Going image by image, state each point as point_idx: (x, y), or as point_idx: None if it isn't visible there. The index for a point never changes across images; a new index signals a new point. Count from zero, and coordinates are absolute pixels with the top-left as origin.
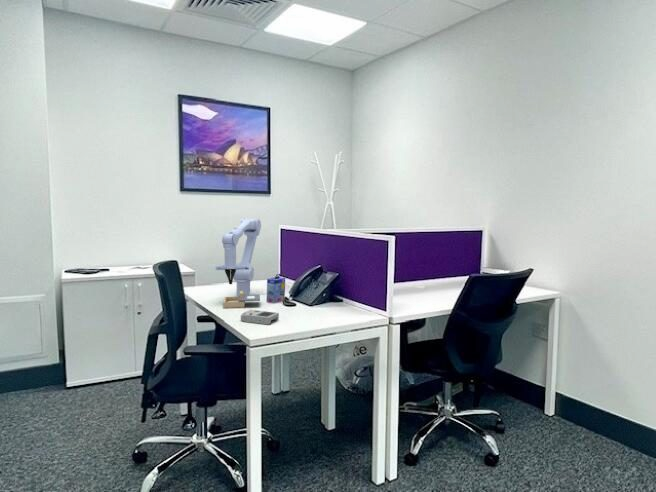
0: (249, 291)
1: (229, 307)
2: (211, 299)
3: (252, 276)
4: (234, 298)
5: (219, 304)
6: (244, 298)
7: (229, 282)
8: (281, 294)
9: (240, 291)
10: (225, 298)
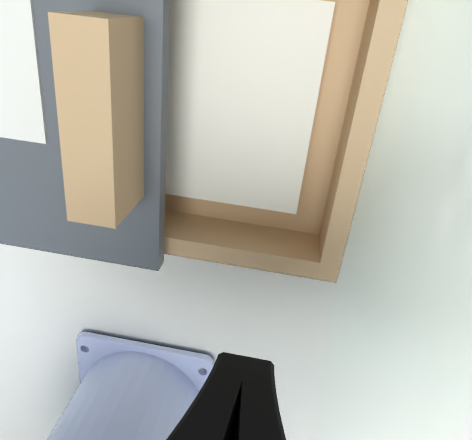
0: (65, 409)
1: None
2: (435, 412)
3: None
4: (224, 238)
5: (405, 195)
6: (73, 5)
7: (265, 385)
8: None
9: (107, 189)
10: (341, 207)
